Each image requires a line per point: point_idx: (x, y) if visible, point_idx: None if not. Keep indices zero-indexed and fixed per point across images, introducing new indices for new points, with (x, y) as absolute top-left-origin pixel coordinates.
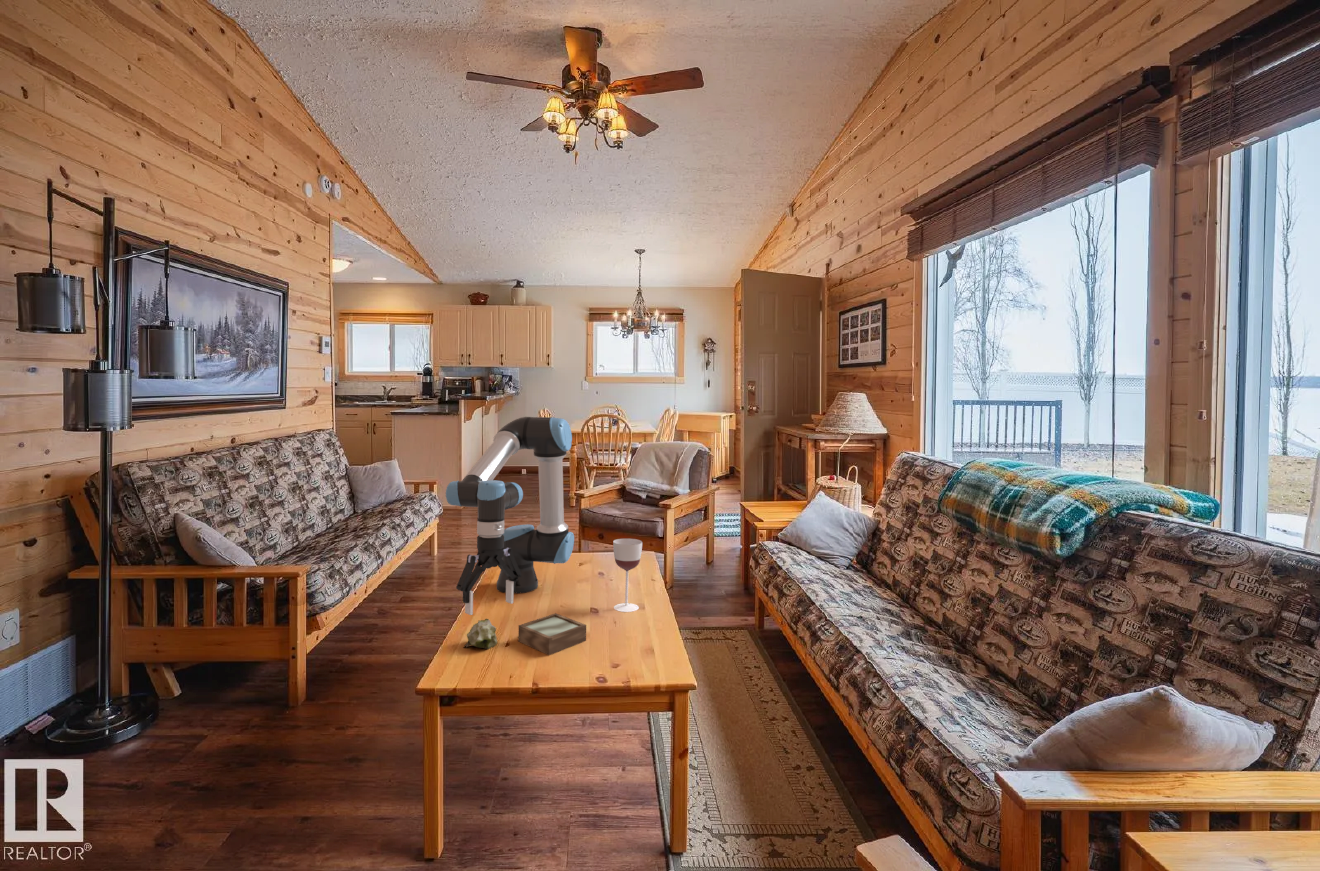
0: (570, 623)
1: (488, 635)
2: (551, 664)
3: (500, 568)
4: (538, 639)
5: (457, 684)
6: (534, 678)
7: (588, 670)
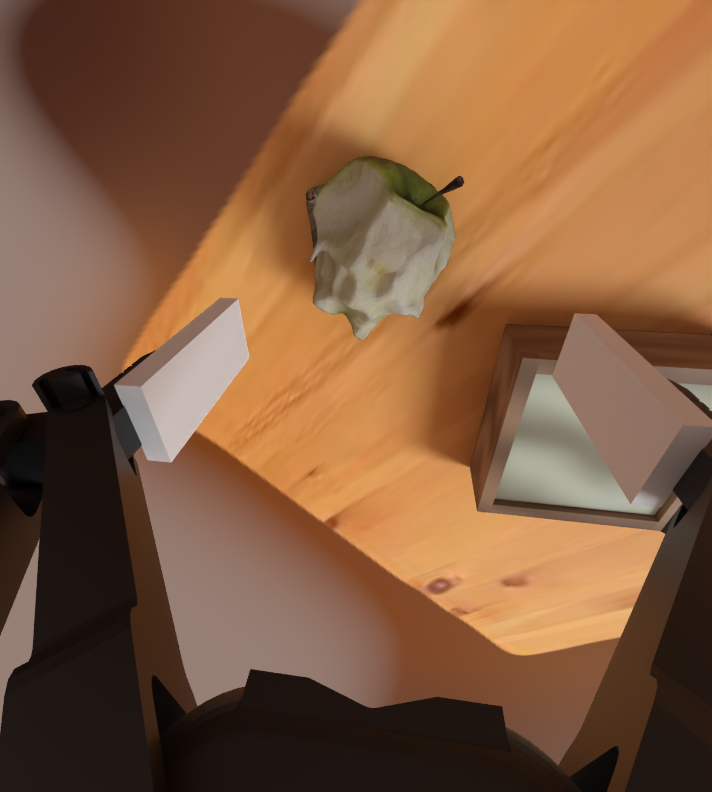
0: None
1: (360, 329)
2: (428, 498)
3: (661, 612)
4: (486, 453)
5: None
6: (347, 510)
7: (457, 559)
